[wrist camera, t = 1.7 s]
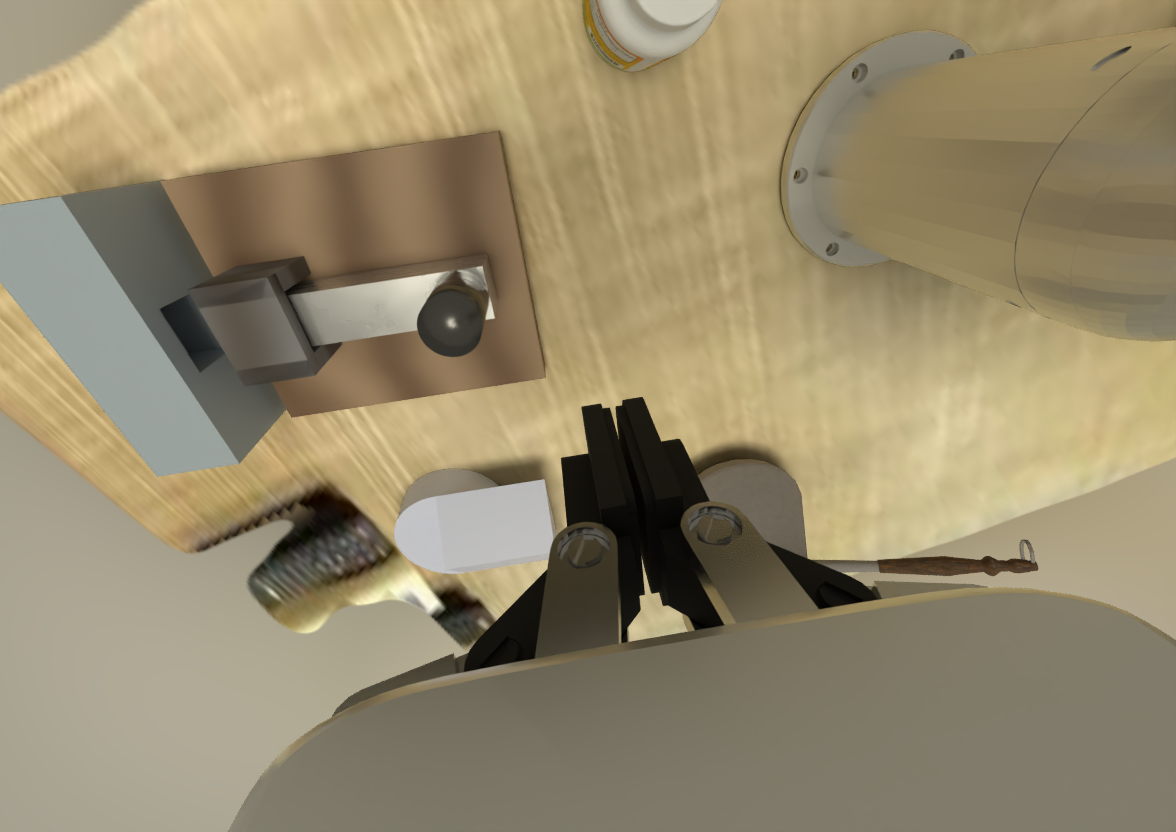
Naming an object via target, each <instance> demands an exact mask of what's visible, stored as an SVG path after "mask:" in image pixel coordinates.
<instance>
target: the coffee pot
mask: <svg viewBox="0 0 1176 832" xmlns="http://www.w3.org/2000/svg"><path fill="white" fill-rule="evenodd" d="M698 477H699V479H700V481H701V483H702V485H703V487H704V489H705V491H706V494H707V496H708V498H709V500H710V501H715V502H722V503H726V504H730V505H732V506H734V507H735V508H737V509H739V510H740V511H741V512H742V513H743V514H744V515H745V516H746V517H747V518H748V519H749V521H750V522H751V523H752V524H753V526H754V527H755V528H756V530H757V531H758V532H759V533H760V535H761V536H762V537H763V538H764V540H765V541H767V542H769V543H772V544H774V545H776V546H779V547H781V548H784V549H786V550H788V551H791V552H793V553H795V554H798V555H800V556H803V557H805V558H807V549H806V538H805V528H804V517H803V507H802V496H801V492H800V490H799V488H798V485H797V483H796V481H795V480H794V479H793V478H792V477H791V476H790V475H789V474H788V473H787V472H786V471H785V470H783V469H781V468H779V467H777V466H775V465H772V464H770V463H768V462H766V461H761V460H755V459H739V460H730V461H726V462H722V463H719V464H715V465H713V466H711V467H709V468H707V469H705V470H704V471H703V472H701V473H700V474H699V475H698ZM1024 543H1026V544H1027V546H1028V549H1029V551H1030V557H1031V561H1027V560H1025V557H1024V550H1023V549H1024V546H1023V545H1024ZM1020 555H1021V559H1010V560H1008V561H1004V560H1000V561H999V560H996V559H994V558H992V557H990V556H986V557H984V558H983V559H981V560H974V559H964V558H954V557H946V556H940V557H921V558H902V559H884V560H877V561H855V560H812V561H815V562H817V563H819V564H822V565H824V566H827V567H829V568H831V569H834V570H836V571H838V572H880V573H898V574H920V575H940V576H941V575H942V576H952V575H959V574H968V573H977V572H985V573H986V574H988V575H990V576H995V575H997V574H998V573H999V572H1001V571H1010V572H1013V573H1024V572H1030V571H1037V570H1038V565H1037V563H1036V562H1035V557H1034V551H1033V549H1032V546H1031V544H1030V542H1029V541H1028V540H1021V542H1020Z"/></svg>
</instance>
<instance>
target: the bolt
mask: <svg viewBox="0 0 1176 832" xmlns="http://www.w3.org/2000/svg"><path fill="white" fill-rule="evenodd" d="M285 294H286V296H287V298H288V300H289V302H290V304H291V307H292V309H293V311H294V313H295V315H296V317H297V319H298V321H299V323H300V325H301V327H302V329H303V331H304V334H305V336H306V338H307V340H308V342H309V344H310V346H311V347H312V346H318V345H325V344H331V343H338V342H344V341H351V340H357V339H364V338H371V337H377V336H384V335H390V334H397V333H403V332H410V331H416V330H418V334H419V336H420V338H421V340H422V341H423V343H424V344H425V345H426V346H427V347H428V348H429V349H430V350H432V351H433V352H435V353H437V354H440V355H442V356H446V357H459V356H463V355H466V354H468V353H470V352H471V351H472V350H474V349H475V348H476V346H477V345H478V343H479V341H480V339H481V335H482V331H483V327H484V323H485V320H488V319H494V318H495V316H496V310H497V305H498V299H497V294H496V290H495V286H494V281H493V277H492V273H491V269H490V264H489V260H488V256H487V253H485V254H478V255H472V256H465V257H458V258H452V259H445V260H439V261H432V262H425V263H419V264H412V265H405V266H399V267H392V268H385V269H379V270H372V271H366V272H359V273H352V274H346V275H339V276H332V277H326V278H319V279H313V280H306V281H299V282H298V283H296V284H295V285H293V286H292V287H290V288H289V289H288V290H286V291H285Z"/></svg>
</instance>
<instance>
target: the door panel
mask: <svg viewBox="0 0 1176 832" xmlns="http://www.w3.org/2000/svg"><path fill="white" fill-rule="evenodd" d="M160 182H161V184H162V186H163V187H164V189H165V191H166V193H167V195H168V196H169V198H170V200H171V202H172V204H173V205H174V207H175V209H176V211H177V213H178V214H179V216H180V218H181V220H182V222H183V223H184V225H185V227H186V229H187V231H188V232H189V234H190V236H191V238H192V240H193V241H194V243H195V245H196V247H197V249H198V250H199V252H200V254H201V256H202V258H203V259H204V261H205V263H206V265H207V267H208V268H209V270H210V272H211V274H212V275H213V277H212V278H210V279H208V280H206V281H204V282H202V283H200V284H198V285H196V286H194V287H192V288H190V289H188V292H189V293H190V295H191V297H192V299H193V300H194V302H195V304H196V305H197V307H198V309H199V310H200V312H201V314H202V315H203V317H204V319H205V320H206V322H207V324H208V325H209V327H210V329H211V330H212V332H213V334H214V336H215V337H216V339H217V341H218V342H219V344H220V346H221V347H222V349H223V351H224V352H225V354H226V356H227V357H228V359H229V361H230V362H231V364H232V366H233V367H234V369H235V371H236V372H237V374H238V376H239V378H240V379H241V381H242V383H243V384H244V386H252V385H258V384H265V383H271V382H272V383H273V385H274V387H275V389H276V391H277V392H278V394H279V396H280V398H281V400H282V401H283V403H284V405H285V407H286V409H287V410H288V412H289V414H290V416H291V418H292V417H298V416H304V415H311V414H317V413H324V412H330V411H336V410H343V409H349V408H356V407H362V406H369V405H375V404H381V403H388V402H394V401H401V400H407V399H413V398H420V397H426V396H433V395H439V394H446V393H452V392H458V391H465V390H471V389H478V388H484V387H490V386H497V385H503V384H510V383H516V382H522V381H529V380H535V379H542V378H546V376H545V363H544V358H543V352H542V347H541V342H540V337H539V332H538V326H537V321H536V316H535V311H534V306H533V300H532V295H531V290H530V285H529V280H528V274H527V269H526V264H525V259H524V253H523V248H522V243H521V238H520V233H519V227H518V222H517V217H516V212H515V207H514V201H513V196H512V191H511V186H510V181H509V175H508V170H507V165H506V160H505V155H504V149H503V144H502V139H501V134H500V131H498V132H491V133H484V134H477V135H470V136H463V137H457V138H450V139H443V140H436V141H429V142H422V143H416V144H409V145H402V146H395V147H388V148H381V149H374V150H368V151H361V152H354V153H347V154H340V155H333V156H327V157H320V158H313V159H306V160H299V161H292V162H286V163H279V164H272V165H265V166H258V167H251V168H245V169H238V170H231V171H224V172H217V173H210V174H203V175H197V176H190V177H183V178H177V179H170V180H164V181H160ZM485 253H487V256H488V260H489V264H490V269H491V273H492V277H493V281H494V286H495V290H496V294H497V299H498V305H497V310H496V316H495V318H494V319H488V320H485V323H484V327H483V331H482V335H481V339H480V341H479V343H478V345H477V346H476V348H475V349H474V350H472V351H471V352H470V353H468V354H466V355H463V356H459V357H446V356H442V355H440V354H437V353H435V352H433V351H432V350H430V349H429V348H428V347H427V346H426V345H425V344H424V343H423V341H422V340H421V338H420V336H419V334H418V330H416V331H410V332H403V333H397V334H390V335H384V336H377V337H371V338H364V339H357V340H351V341H344V342H338V343H331V344H325V345H318V346H312V347H311V346H310V344H309V342H308V340H307V338H306V336H305V334H304V331H303V329H302V327H301V325H300V323H299V321H298V319H297V317H296V315H295V313H294V311H293V309H292V307H291V304H290V302H289V300H288V298H287V296H286V294H285V291H286V290H288V289H289V288H290V287H292V286H293V285H295V284H296V283H298V282H299V281H306V280H313V279H319V278H326V277H332V276H339V275H346V274H352V273H359V272H366V271H372V270H379V269H385V268H392V267H399V266H405V265H412V264H419V263H425V262H432V261H439V260H445V259H452V258H458V257H465V256H472V255H478V254H485Z"/></svg>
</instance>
